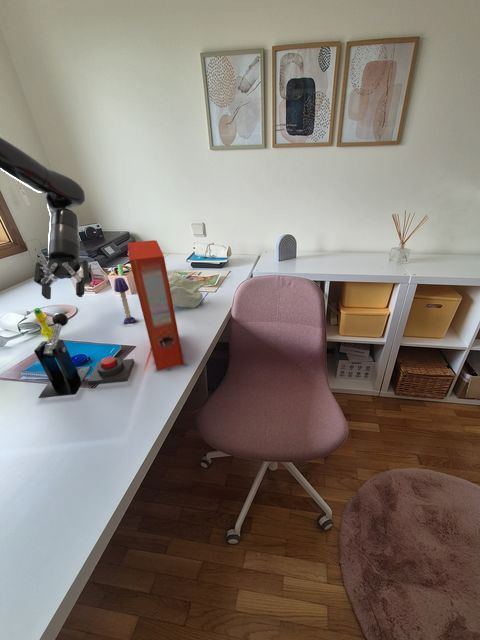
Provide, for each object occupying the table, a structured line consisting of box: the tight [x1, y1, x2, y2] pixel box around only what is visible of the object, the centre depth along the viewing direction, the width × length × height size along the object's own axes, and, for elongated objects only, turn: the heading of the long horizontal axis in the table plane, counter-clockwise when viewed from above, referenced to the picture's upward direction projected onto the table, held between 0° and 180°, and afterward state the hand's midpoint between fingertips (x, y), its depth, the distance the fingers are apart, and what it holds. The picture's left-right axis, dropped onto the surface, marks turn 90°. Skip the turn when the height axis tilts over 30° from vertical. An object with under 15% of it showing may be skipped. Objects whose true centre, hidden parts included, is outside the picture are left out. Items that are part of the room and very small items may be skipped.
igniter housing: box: [86, 357, 135, 386], centre depth 84 cm, size 10×9×4 cm
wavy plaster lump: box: [168, 275, 206, 309], centre depth 119 cm, size 18×13×16 cm
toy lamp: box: [113, 277, 137, 325], centre depth 108 cm, size 5×5×17 cm
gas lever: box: [43, 312, 69, 359], centre depth 79 cm, size 13×4×4 cm, turn 7°
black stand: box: [33, 339, 92, 399], centre depth 79 cm, size 12×9×13 cm
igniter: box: [100, 356, 117, 369], centre depth 83 cm, size 4×4×2 cm
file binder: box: [127, 239, 185, 371], centre depth 86 cm, size 8×17×32 cm, turn 22°
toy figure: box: [33, 307, 54, 340], centre depth 99 cm, size 7×4×12 cm, turn 26°
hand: (63, 297), depth 84 cm, fingers open, 8 cm apart
